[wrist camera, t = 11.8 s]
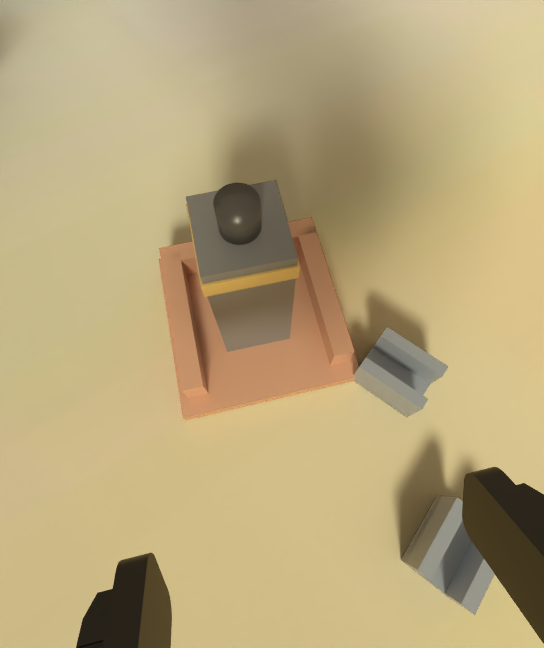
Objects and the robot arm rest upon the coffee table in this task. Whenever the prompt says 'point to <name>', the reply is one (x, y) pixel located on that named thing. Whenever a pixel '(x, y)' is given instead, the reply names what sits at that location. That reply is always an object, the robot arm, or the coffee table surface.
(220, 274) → the plug
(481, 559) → the clip
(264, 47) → the coffee table surface
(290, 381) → the holder
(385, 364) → the clip
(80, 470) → the coffee table surface
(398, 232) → the coffee table surface
